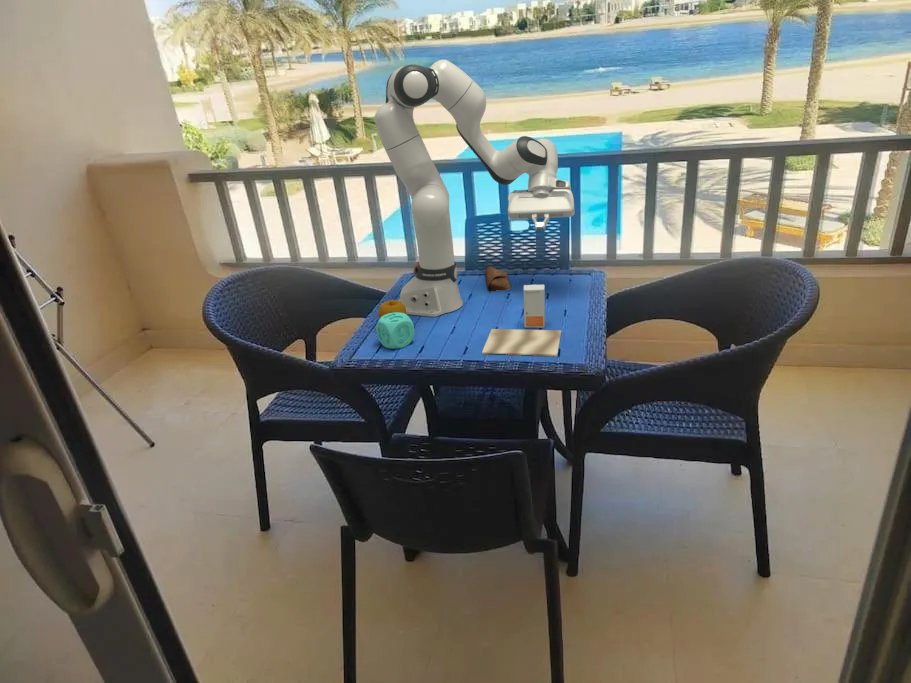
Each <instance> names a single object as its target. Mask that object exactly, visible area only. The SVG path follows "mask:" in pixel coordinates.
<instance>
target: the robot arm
mask: <svg viewBox="0 0 911 683" xmlns="http://www.w3.org/2000/svg"><path fill="white" fill-rule="evenodd" d="M385 86H386V89H385V104H383V105H381V106H380V107H378V109H377V110H376V112H375V115H374V123H375V127H376V130H377V133H378V136H379V138H380V141H381V144H382V146H383V148H384V151H385V153H386V154H387V157H388V159H389V161H390V163H391V165H392V167H393V169H394V171H395V174H396V175H397V177H398V179H400V181H401V183H403V185H404V188H405V189H406V190H407V193H408V194H409V196H410V198H411V200H412V201H411V205H410V206H411V215H412V222H413V226H414V234H415V238H416V245H417V253H418V254H417V255H418V261H417V263H416V264H415V266H414V269H413V270H412V272H413V273H412V274H413V275H414V276H413V277H412V278H411V279H410V280H409V281H408V282H406V283H405V284H404V285H403V287H402V288H401V291H400V293H399V299H397V300H398V301H401V302H402V303H403V305H404V306H405V308H406V315H413V316H424V317H431V318H433V317H439V316H441V315H443V314H446V313H451V312H454V311H457V310H460V309H461V307H462V306H463V305H464V302H463V299H462V296H461V294H460V289H459V285H458V268H457V263H456V261H455V253H454V242H453V241H454V239H453V233H452V226H451V225H452V224H451V214H450V194H449V191H448V189H447V187H446V185H445V183H444V182H445V181H443V179H442V176H441V174H440V172H439V171H438V169H437V167H436V165H435V162H433V160H432V157H431V156H430V153H429V151H428V149H427V147H426V145H425V142H424V140H423V138H422V136H421V133H420V131H419V130H418V127H417V125H416V124H415V119H414V110H415V108H417V107H420V106H422V105H424V104H425V103H427V102H428V101H430V100H431V99H432V100H435V101H436V102H437V103H439V104H440V105H441V106H442V107H443V108H444V109H445V110H446V111H447V113H449V114H450V115H451V117H452V118H453V119H454V120H455V124H456V125H455V127H456V130H457V132H458V134H459V136H460V138H462V140H463V141H464V142H465V144H467V147H469V149H470V150H471V151H472V152H473V153H474V154H475V156H476V157H477V158H478V160H479V161H480V162H481V163H482V164H483V166H484V167H485V168H486V170H487V172H488V174H489V176H490V177H491V179H492V180H494V181H495V182H496V183H498V184H500V185H503V186H504V185H505V186H508V185H511V184H512V183H513V182H514V181H516V180H517V179H518V178H519V177H520V176H522V175H524V174H526V175H528V180H527V182H528V183H527V189H519V190H518V189H514V190H513V191H511V192H510V193H509V194H508V198H507V200H508V207H507V215H508V217H509V218H510V219H512V220H519V219H520V220H521V219H532V222H533V224H534V229H535V231H543V230H546V226H547V224H548V223H549V221H550V218H572V217H573V216H574V215H575V214H576V213H575V199H574V195H573V192H572V187H571V183H570V181H567V180H564V179H563V180H562V179H558V178H557V172H558V165H559V160H558V159H559V158H558V156H559V154H558V150H557V147H556V145H555V143H554V141H552V140H550V139H547V138H538V139H535V138H533V137H531V136H527V135H522V136H519V138H517V139H516V140H514V141H512V142H511V143H509V145H507V146H506V147H505V148H503V149H502V150H497V149H496V148H495V147H494V146H493V144H492V143H491V142H490V141H489V140H488V139H487V137H486V135H485V134H484V133H483V132H482V130H481V122H482V118H483V117H484V114H485V112H486V109H487V98H486V97H487V96H486V94H485V92H484V90H483V89H482V88H481V86H480V85H478V83H477V82H476V81H475V80H473V79H472V78H471V77H470V76H469V75H468V74H467V73H466V72H465V71H463V70H462V68H460V67H459V66H457V65H456V64H455V63H452V62H451V61H449V60H448V59H439V60H437V61H435V62H434V63H432V65H431V66H429V67H427V66H422V65H419V64H407V65H403V66H400V67H398V68H396V69H395V70H394V71H393V72H392V73H391V74H390V76H389V77H388V79H387V82H386V85H385ZM538 219H544V220H543V221H539V222H538Z"/></svg>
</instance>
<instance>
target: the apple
mask: <svg viewBox="0 0 911 683" xmlns="http://www.w3.org/2000/svg"><path fill="white" fill-rule="evenodd" d="M398 300H399V299H391V300H387V301H384V302H382V303H381V305H380V306H379V308H378V312H377V314H378V320H379V319H380V318H381V317H382V316H384V315H386V314H389V313H394V312H400V313H404V314H406V308H405V306H404V305H403V303H402V302H401V301H398ZM406 315H407V314H406Z"/></svg>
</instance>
